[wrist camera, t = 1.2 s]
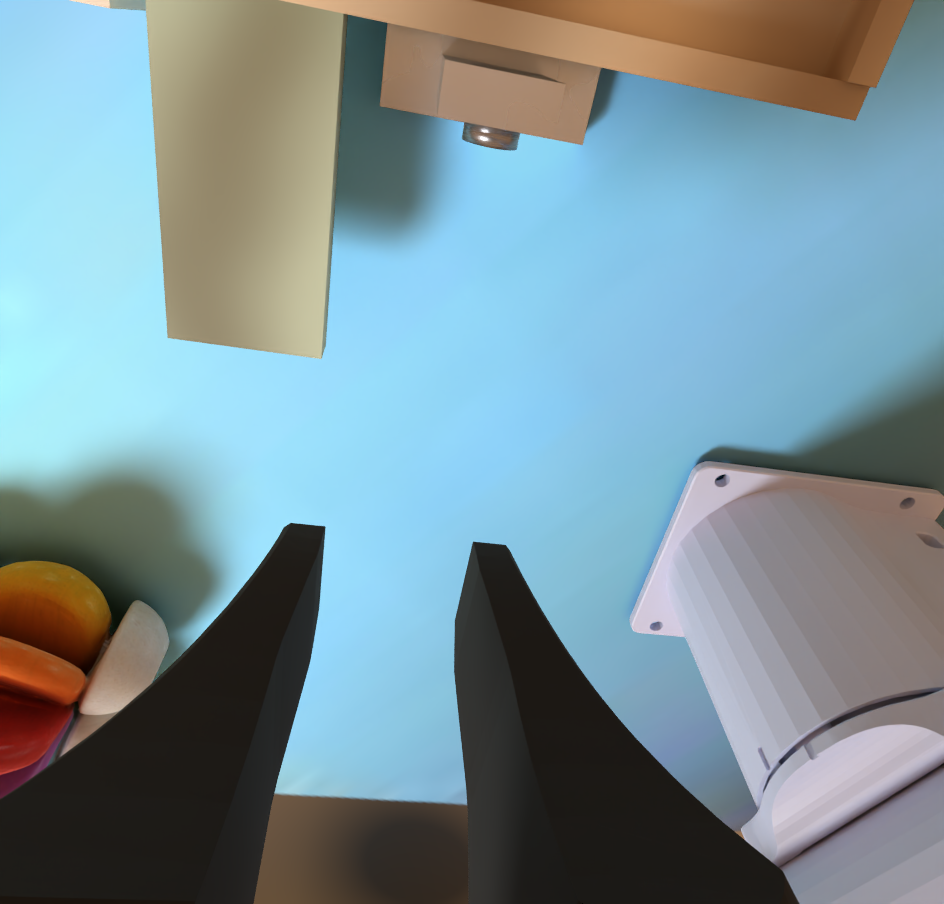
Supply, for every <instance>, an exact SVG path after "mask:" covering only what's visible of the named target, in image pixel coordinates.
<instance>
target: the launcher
mask: <svg viewBox="0 0 944 904" xmlns="http://www.w3.org/2000/svg"><path fill="white" fill-rule="evenodd" d="M913 1H914V0H146V16H147V31H148V46H149V61H150V76H151V91H152V106H153V121H154V136H155V152H156V167H157V182H158V197H159V212H160V227H161V242H162V257H163V273H164V288H165V303H166V318H167V333H168V338H173V339H180V340H187V341H195V342H202V343H209V344H216V345H224V346H231V347H238V348H246V349H253V350H260V351H267V352H275V353H282V354H289V355H297V356H304V357H311V358H319V359H321V358H322V355H323V352H324V349H325V346H326V332H327V317H328V302H329V288H330V273H331V258H332V243H333V228H334V213H335V198H336V183H337V168H338V153H339V138H340V123H341V108H342V93H343V78H344V63H345V48H346V33H347V19H348V15H353V16H357V17H362V18H367V19H372V20H377V21H381V22H386V23H391V24H396V25H400V26H405V27H410V28H415V29H420V30H424V31H429V32H434V33H439V34H444V35H448V36H453V37H458V38H463V39H467V40H472V41H477V42H482V43H487V44H491V45H496V46H501V47H506V48H511V49H515V50H520V51H525V52H530V53H534V54H539V55H544V56H549V57H554V58H558V59H563V60H568V61H573V62H578V63H582V64H587V65H592V66H597V67H601V68H606V69H611V70H616V71H621V72H625V73H630V74H635V75H640V76H645V77H649V78H654V79H659V80H664V81H668V82H673V83H678V84H683V85H688V86H692V87H697V88H702V89H707V90H712V91H716V92H721V93H726V94H731V95H735V96H740V97H745V98H750V99H755V100H759V101H764V102H769V103H774V104H779V105H783V106H788V107H793V108H798V109H802V110H807V111H812V112H817V113H822V114H826V115H831V116H836V117H841V118H846V119H850V120H856V118H857V116H858V114H859V111H860V109H861V107H862V104H863V102H864V100H865V97H866V95H867V93H868V90H869V88H870V87H875V88H876V86H877V84H878V82H879V79H880V77H881V75H882V72H883V70H884V68H885V66H886V63H887V61H888V59H889V56H890V54H891V52H892V50H893V47H894V45H895V43H896V40H897V38H898V36H899V34H900V31H901V29H902V27H903V24H904V22H905V20H906V17H907V15H908V13H909V11H910V8H911V6H912V4H913Z"/></svg>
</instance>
